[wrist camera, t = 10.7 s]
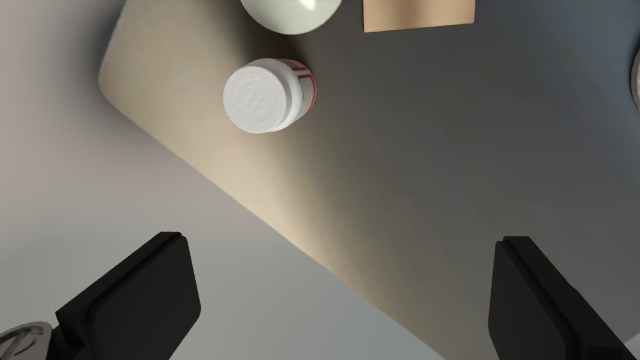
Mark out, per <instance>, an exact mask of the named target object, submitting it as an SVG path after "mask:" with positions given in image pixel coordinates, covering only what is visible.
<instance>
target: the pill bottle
mask: <svg viewBox="0 0 640 360" xmlns="http://www.w3.org/2000/svg"><path fill="white" fill-rule="evenodd" d="M315 97H316V83H315V80H314V78H313V75H312V74H311V72H310V71H309V70H308V69H307V68H306V67H305V66H304V65H303V64H301V63H299V62H297V61H294V60H289V59H272V58H264V59H258V60H255V61H252V62H250V63H248V64H247V65H245V66H244V67H241V68H239V69H238V70H236V71H235V72H233V73H232V74H231V76H230V77H229V78H228V80H227V81H226V84H225V86H224V90H223V104H224V108H225V110H226V113H227V115H228V116H229V118H230V119H231V121H232V122H233V123H234V124H235V125H237V126H238V127H239V128H241V129H243V130H245V131H247V132H251V133H263V132H272V131H278V130H281V129H283V128H285V127H287V126H289V125H290V124H291V123H293V122H294V121H296V120H297V119H299V118H300V117H302V116H303V115H304V114H306V113H307V112H308V111H309V110H310V108H311V107H312V105H313V103H314V101H315Z"/></svg>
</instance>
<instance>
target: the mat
mask: <svg viewBox="0 0 640 360" xmlns="http://www.w3.org/2000/svg"><path fill="white" fill-rule="evenodd" d="M474 11H475V0H364V32H375V31H387V30H398V29H409V28H421V27H432V26H443V25H455V24H466V23H474Z"/></svg>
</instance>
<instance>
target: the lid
mask: <svg viewBox="0 0 640 360" xmlns="http://www.w3.org/2000/svg"><path fill="white" fill-rule="evenodd" d="M240 1H241V2H242V4H243V6H244V8H245V9H246V10H247V12H248V13H249V14H250V15H251V16H252V17H253V19H254V20H256V21H257V22H258V23H259V24H261V25H262V26H264V27H266V28H267V29H270V30H272V31H275V32H278V33H282V34H288V35H297V34H303V33H307V32H310V31H312V30H314V29H316V28H318V27H320V26H321V25H323V24H324V23H325V22H326V21H328V20H329V19H330V18H331V16H332V15H333V14H334V13H335V12H336V10H337V9H338V7H339V6H340V4H341V2H342V0H240Z"/></svg>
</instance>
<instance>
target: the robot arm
mask: <svg viewBox="0 0 640 360" xmlns="http://www.w3.org/2000/svg"><path fill="white" fill-rule="evenodd" d="M631 89H632V94H633V99H634V101H635V103H636V105H637V107H638V110H639V111H640V48H639V50H638V53H637V55H636V57H635V60H634V64H633V68H632V72H631ZM200 312H201V304H200V300H199V295H198V290H197V285H196V280H195V275H194V271H193V266H192V261H191V256H190V251H189V246H188V242H187V239H186V237H184V236H182V234H181V233H180V232H160V233H158V234H157V235H156V236H154V237H153V238H152V239H150V240H149V241H148V242H147V243H145V244H144V245H143V246H141V247H140V248H139V249H137V250H136V251H135V252H133V253H132V254H131V255H130V256H128V257H127V258H126V259H124V260H123V261H122V262H120V263H119V264H118V265H116V266H115V267H114V268H112V269H111V270H110V271H109V272H107V273H106V274H105V275H103V276H102V277H101V278H100V279H98V280H97V281H95V282H94V283H93V284H92V285H90V286H89V287H88V288H86V289H85V290H84V291H82V292H81V293H80V294H78V295H77V296H76V297H75V298H73V299H72V300H71V301H69V302H68V303H67V304H65V305H64V306H63V307H62V308H60V309H59V310H58V311H56V312H55V314H56V317H57V320H58V322H59V325H58V326H57V327H56V328H55V329H52V326H51V325H50V324H49V323H47V322H42V321H40V322H31V323H27V324H23V325H19V326H17V327H14V328H11V329H9V330H7V331H5V332H3V333H1V334H0V360H169V359H170V357H171V356H172V354H173V353H174V351H175V350H176V349H177V347H178V346H179V344H180V343H181V341H182V340H183V339H184V337H185V336H186V335H187V333H188V332H189V331H190V329H191V328H192V326H193V325H194V323H195V322H196V321H197V319H198V318H199V315H200ZM488 328H489V333H490V337H491V339H492V342H493V344H494V347H495V349H496V352H497V354H498V357H499V359H500V360H637V359H636V358H635V357H634V356H633V355H632V354H631V352H630V351H629V350H628V349H627V348H626V347H625V345H624V344H623V343H622V342H621V341H620V340H619V339H618V337H617V336H616V335H615V334H614V333H613V332H612V330H611V329H610V328H609V327H608V326H607V325H606V323H605V322H604V321H603V320H602V319H601V318H600V317H599V315H598V314H597V313H596V312H595V311H594V310H593V308H592V307H591V306H590V305H589V304H588V303H587V301H586V300H585V299H584V298H583V297H582V296H581V295H580V293H579V292H578V291H577V290H576V289H575V288H573V287H572V286H571V285H570V284H569V283H568V282H567V281H566V279H565V278H564V277H563V276H562V275H561V274H560V272H559V271H558V270H557V269H556V268H555V267H554V265H553V264H552V263H551V262H550V261H549V260H548V258H547V257H546V256H545V255H544V254H543V253H542V251H541V250H540V249H539V248H538V247H537V246H536V244H535V243H534V242H533V241H532V240H531V238H529V237H528V236H505V237H504V238H503V241H497V242H496V246H495V256H494V266H493V277H492V287H491V298H490V308H489V319H488Z"/></svg>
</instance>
